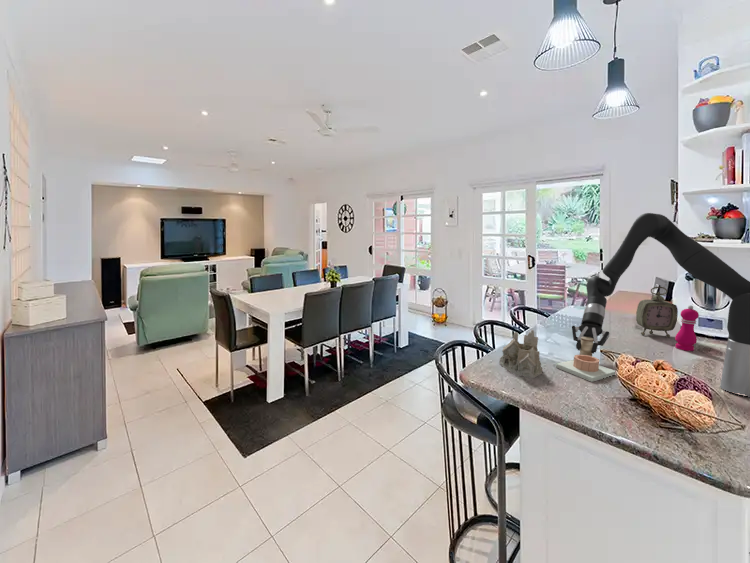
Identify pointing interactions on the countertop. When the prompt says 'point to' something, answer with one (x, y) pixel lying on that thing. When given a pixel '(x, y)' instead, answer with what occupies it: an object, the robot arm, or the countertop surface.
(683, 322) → the pepper mill
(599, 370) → the flat grey base plate
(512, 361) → the grey-brown toy castle
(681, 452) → the countertop surface
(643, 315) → the tabletop clock
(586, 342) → the birch plug
